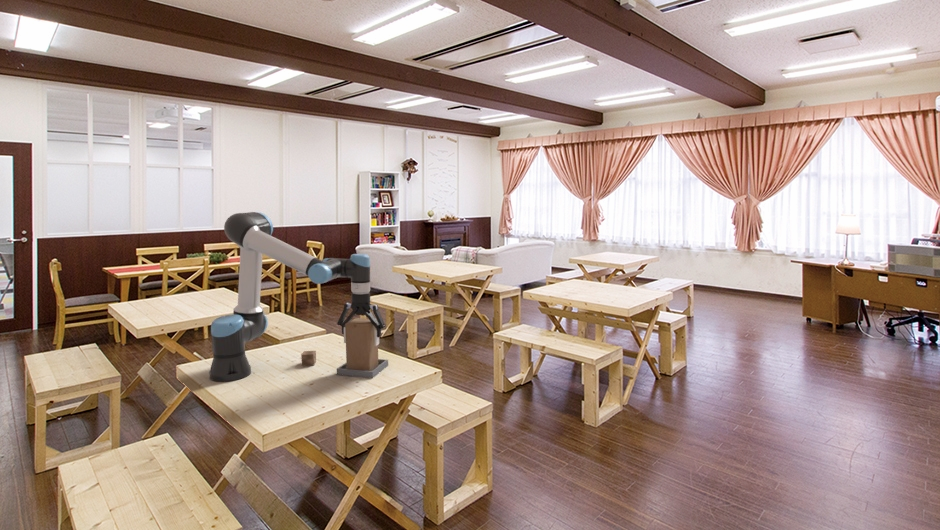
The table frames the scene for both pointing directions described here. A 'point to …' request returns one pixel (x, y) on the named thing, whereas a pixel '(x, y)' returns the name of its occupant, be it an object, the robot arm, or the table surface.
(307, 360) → the walnut cube
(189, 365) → the table surface
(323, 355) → the table surface
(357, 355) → the wooden block
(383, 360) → the tray
